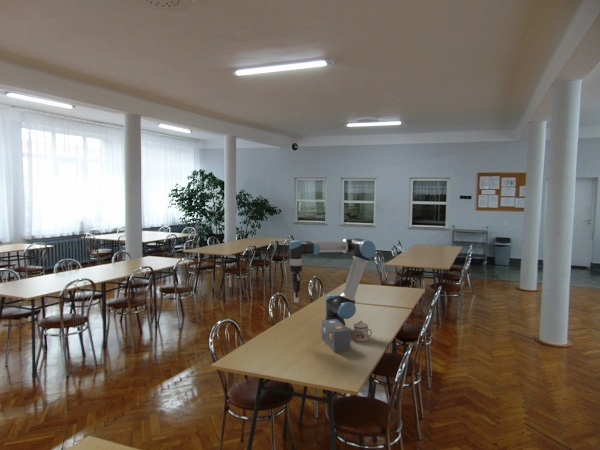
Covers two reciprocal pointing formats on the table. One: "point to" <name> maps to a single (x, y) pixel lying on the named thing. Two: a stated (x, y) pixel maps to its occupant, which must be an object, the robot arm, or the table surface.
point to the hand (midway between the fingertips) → (296, 301)
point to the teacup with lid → (361, 331)
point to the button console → (336, 335)
